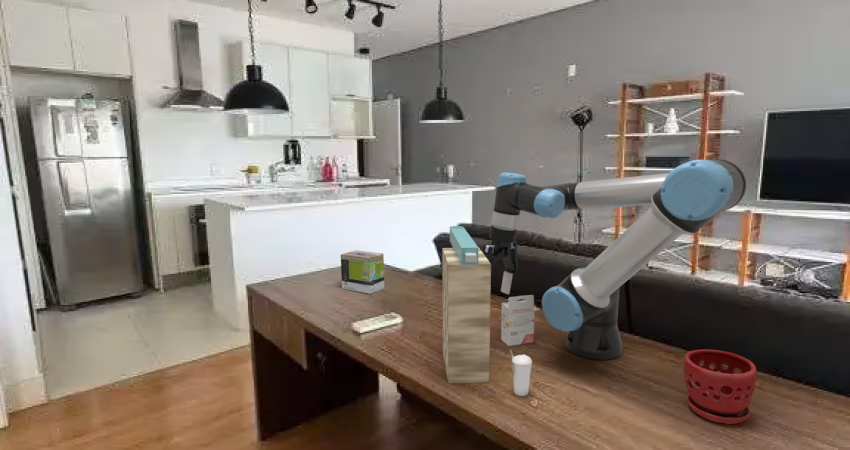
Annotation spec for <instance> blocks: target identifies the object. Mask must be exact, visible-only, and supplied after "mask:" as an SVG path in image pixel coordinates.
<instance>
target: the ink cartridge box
mask: <svg viewBox="0 0 850 450" xmlns="http://www.w3.org/2000/svg"><path fill="white" fill-rule="evenodd" d="M507 300H508V302H501V314H500V316H501V321H500V322H501V325H500V326H501V327H500V329H501V330H500V331H501V333H500V335H501V341H502V342H503V343H504V344H505V345H506V346H508V347H511V346H518V345H526V344H533V343H535V297H534V294H530V295H529V294H528V295H517V296H509V297H508V298H507Z"/></svg>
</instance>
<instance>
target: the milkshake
mask: <svg viewBox="0 0 850 450" xmlns="http://www.w3.org/2000/svg"><path fill="white" fill-rule="evenodd" d="M510 354H511V358H512V359H511V363H512V364H511V365H512V377H513V379H512V380H513V381H512V382H513V393H514V394H515V395H516V396H518V397H525V396H528V394H529V389H530V388H529V387H530V381H531V380H530V378H531V372H532V365H533V360H532V359H531V357H530V356H528V355H526V354H518V355H515V356H514V353H513V350H512V349H510Z"/></svg>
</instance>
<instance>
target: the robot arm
mask: <svg viewBox="0 0 850 450" xmlns="http://www.w3.org/2000/svg"><path fill="white" fill-rule="evenodd" d="M526 179H527V178H526V176H525V175H523V174H521V173H515V172H509V171H508V172H507V171H506V172H501V173H500V174H499V176H498V179H497V180H498V181H497V185H496V187H495V188H496V190H495V199H494V207H493V213H492V216H491V218H492V219H491V226H490V227H489V234H488V238H489V239H490V240H491V243H490V245H488V244H484V245H483V249H482V253H483V254H484V255H485V257H486V258H487V259H488V261H489V262H490V263H491V270H492V269H493V267H494V265H495V263H497V262H499V260H502V261H503V265H504V267H505V270H504V271H503V275H502V282H501V286H500V287H501V288H500V292H502V293H504V294H506V295H510V292H511V287H512V282H513V275H514V274H517V273H518V270H519V261H518V250H517V249H518V242H517V241H516V238H517V232H518V230H517V229H518V226H519V220H520V215H521V214H520V213H521V211H522V212H525V213H529V214H532V215H536V216H539V217H541V218H548V219H556V218H558V217H559V215H561V214H562V212H563V211H573V210H574V211H575V210H590V209H592V210H593V209H607V208H608V209H609V208H625V207H627V208H628V207H643V206H650V207H649V208H648V209H647V210H645V212H644V213H642V214H641V215H640V217H639V218H637V219H636V220H635V221H634V222H633V223H632V224H631V225H629V227H627V229H626V230H624V231H623V232H622V233H621V234H620V235H619V236H618V237H617V238H616V239H615V240H614V241H613V242H612V243H610V245H608V247H606V248H605V250H603V251H602V252H601V253H600V254H599V255H598V256H597V257H596V258H595V259H593V261H591V262H590V263H589V264H588V265H587V266H586V267H579V268H576V269H574V270H573V271H571V273H569V274H568V276H566V277H565V278H564V279H563V280H562V281H561V282H560V283H559V284H557V285H556V286H552V287H550V288H549V289H547V291H545V292H544V293H543V295H542V298H541V306H542V309H541V310H542V313H543V315H544V317H545V320H546V321H547V322H548V323H549V324H550V325H551V326H552V327H553V328H555V329H556V330H559V331H561V332H565V333H567V335H566V339H565V347H566V349H567V350H568V351H570V353H573V354H574V355H577V356H580V357H583V358H587V359H592V360H600V361H602V360H603V361H604V360H605V361H606V360H613V359H617V358H619V357H620V356H621V355H622V353H623V342H622V338H621V334H620V331H619V327H618V317H619V316H618V315H619V300H620V288H621V286H623V285H624V284H626V283H627V281H628V280H630V279H631V278H632V277H633V276H635V275H636V274H637V273H638V272H640V270H641V269H643V268H644V267H645V266H647V264H649V263H650V262H651V261H652V260H653V259H655V258H656V257H657V256H658V255H660V253H662V252H663V251H664V250H665V249H667V248H668V247H669V246H670V245H671V244H673V242H675V241H676V240H677V239H678V238H679V237H681V236H682V235H684V234H685V235H695V234H697V233H698V232H699V231H700V230H702V228H703V227H705V226H706V225H707V224H709V223H710V222H711V221H712V220H713V219H714V218H715V217H717V216H718V215H719V214H721V213H722V212H726V211H728V210H730V209H732V208H734V207H735V206H738V204H739V203H740V202H741V201H742V199H743V198H744V196H745V194H746V191H747V186H748V183H747V177H746V174H745V173H744V171H743V170H742V169H741V167H739V166H738V165H737V164H735V163H734V162H732V161H729V160H728V159H727V160H726V159H720V158H717V159H716V158H713V159H693V160H690V161H687V162H684V163H682V164H680V165H678V166H677V167H675V168H673V169H672V170H671V171H669V172H666V173H656V174H655V173H654V174H647V175H638V176H627V177H617V178H610V179H600V180H599V179H598V180H590V181H581V182H567V183H561V184H553V185H544V186H540V185H539V186H538V185H534V184H529V183H527V180H526Z"/></svg>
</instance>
